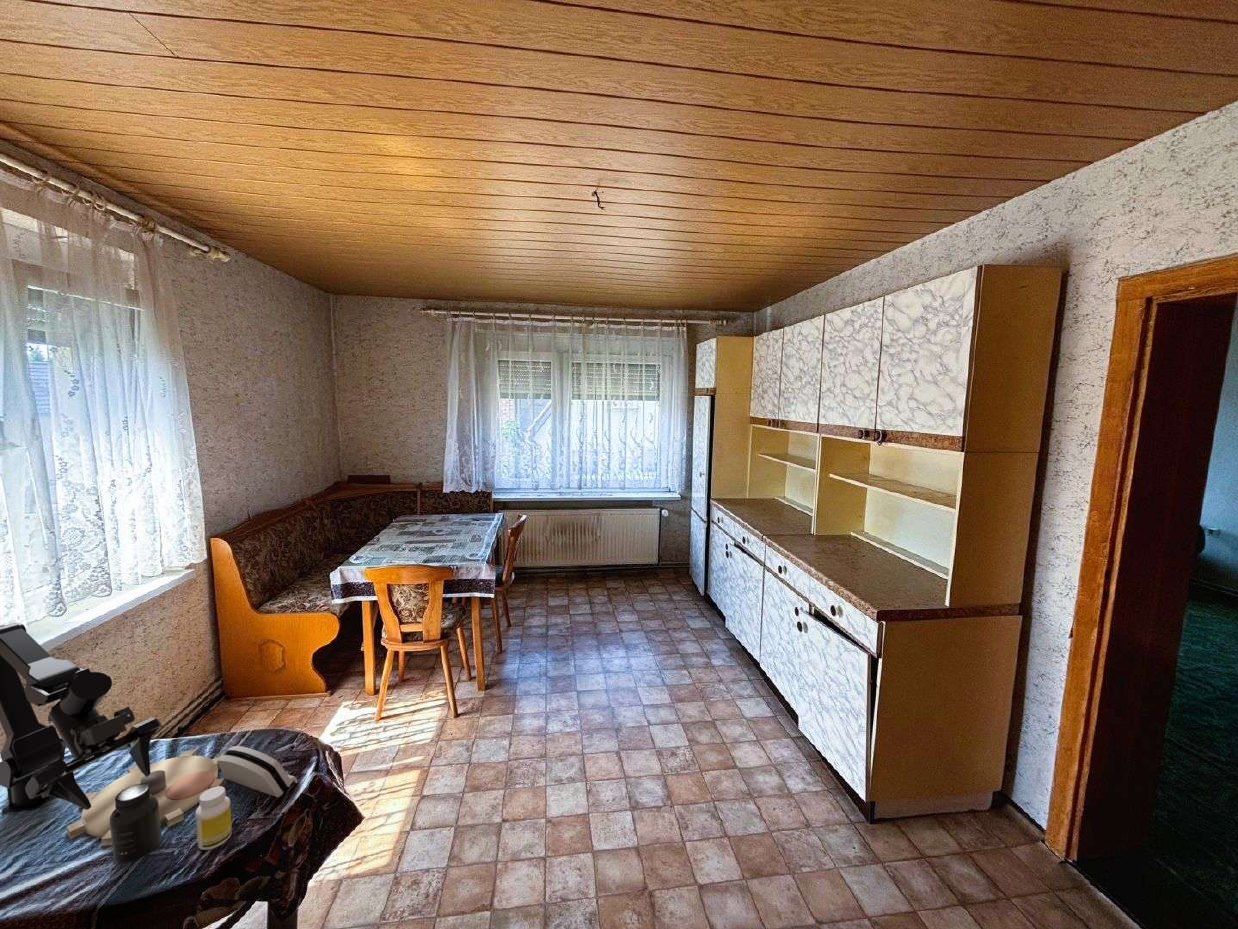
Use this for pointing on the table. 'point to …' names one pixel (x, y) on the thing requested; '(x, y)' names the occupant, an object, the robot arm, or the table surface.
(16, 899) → the table surface
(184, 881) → the table surface
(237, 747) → the white arched block
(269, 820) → the table surface
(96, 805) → the sprocket wheel
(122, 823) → the supplement bottle
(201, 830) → the supplement bottle
